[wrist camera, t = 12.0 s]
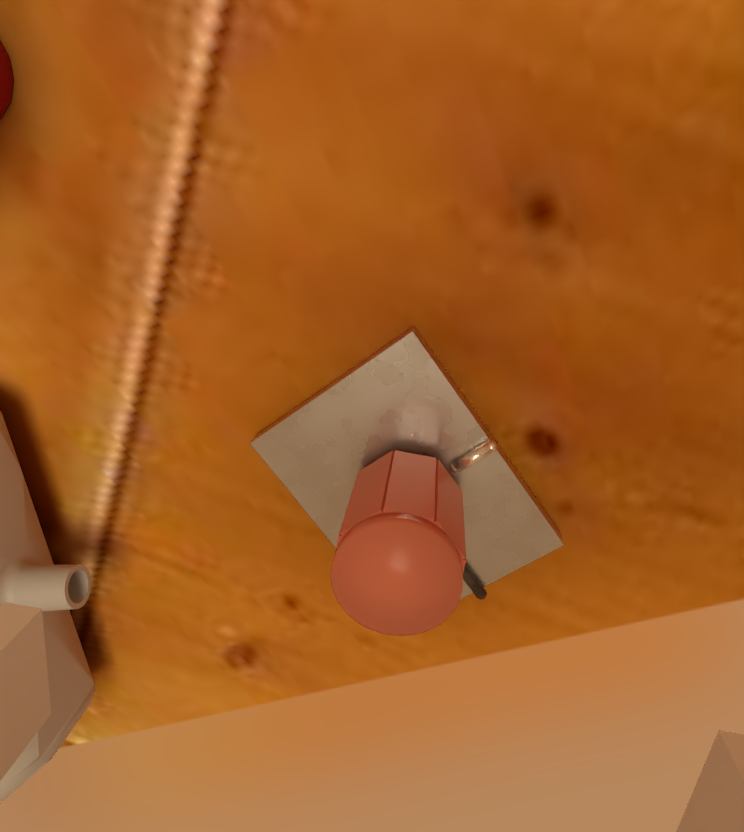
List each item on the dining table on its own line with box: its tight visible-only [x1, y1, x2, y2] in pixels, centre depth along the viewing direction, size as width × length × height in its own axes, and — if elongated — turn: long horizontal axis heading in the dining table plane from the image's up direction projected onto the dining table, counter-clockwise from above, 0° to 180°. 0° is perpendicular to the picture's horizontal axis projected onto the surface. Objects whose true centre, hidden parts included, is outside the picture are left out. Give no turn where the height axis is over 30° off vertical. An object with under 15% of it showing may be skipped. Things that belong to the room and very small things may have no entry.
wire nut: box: [331, 450, 466, 636], centre depth 33 cm, size 6×6×8 cm
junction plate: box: [250, 326, 564, 599], centre depth 34 cm, size 16×12×10 cm
